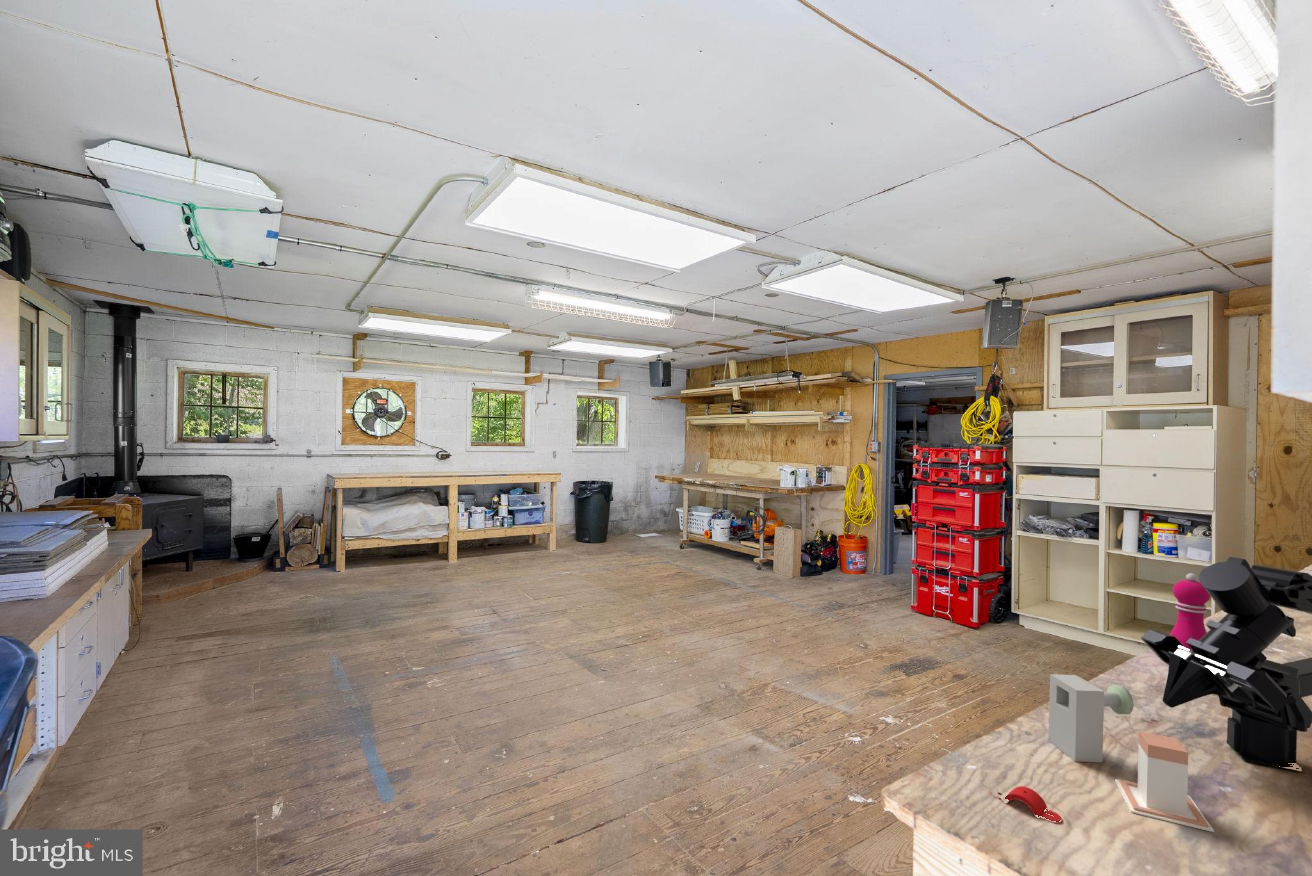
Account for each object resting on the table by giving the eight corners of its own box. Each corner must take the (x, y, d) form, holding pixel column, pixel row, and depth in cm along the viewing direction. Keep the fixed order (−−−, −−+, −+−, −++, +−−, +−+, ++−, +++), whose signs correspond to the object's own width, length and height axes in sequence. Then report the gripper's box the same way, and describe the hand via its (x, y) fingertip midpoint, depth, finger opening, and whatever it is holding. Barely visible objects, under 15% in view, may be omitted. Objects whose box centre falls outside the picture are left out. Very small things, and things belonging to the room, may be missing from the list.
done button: (1112, 706, 92) (1113, 681, 92) (1133, 719, 88) (1133, 692, 88) (1069, 705, 92) (1070, 679, 92) (1088, 717, 88) (1088, 690, 88)
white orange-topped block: (1175, 799, 78) (1177, 738, 78) (1186, 816, 74) (1188, 752, 74) (1137, 790, 80) (1138, 730, 80) (1146, 806, 76) (1147, 744, 76)
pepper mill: (1158, 660, 131) (1160, 569, 131) (1188, 660, 131) (1190, 569, 131) (1190, 673, 123) (1192, 577, 124) (1222, 672, 124) (1224, 577, 124)
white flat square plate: (1189, 797, 79) (1189, 793, 79) (1213, 832, 72) (1214, 827, 72) (1114, 780, 82) (1114, 776, 82) (1131, 812, 75) (1131, 808, 75)
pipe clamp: (986, 797, 78) (987, 781, 78) (995, 790, 80) (995, 773, 80) (1057, 829, 72) (1057, 811, 72) (1064, 820, 74) (1065, 802, 74)
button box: (1074, 741, 93) (1075, 675, 93) (1102, 761, 87) (1104, 691, 87) (1048, 740, 93) (1050, 674, 93) (1074, 761, 87) (1076, 690, 87)
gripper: (1352, 700, 80) (1266, 779, 80) (1221, 650, 98) (1152, 715, 99) (1294, 639, 80) (1209, 718, 80) (1174, 601, 99) (1106, 666, 99)
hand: (1166, 704), depth 89 cm, fingers closed
